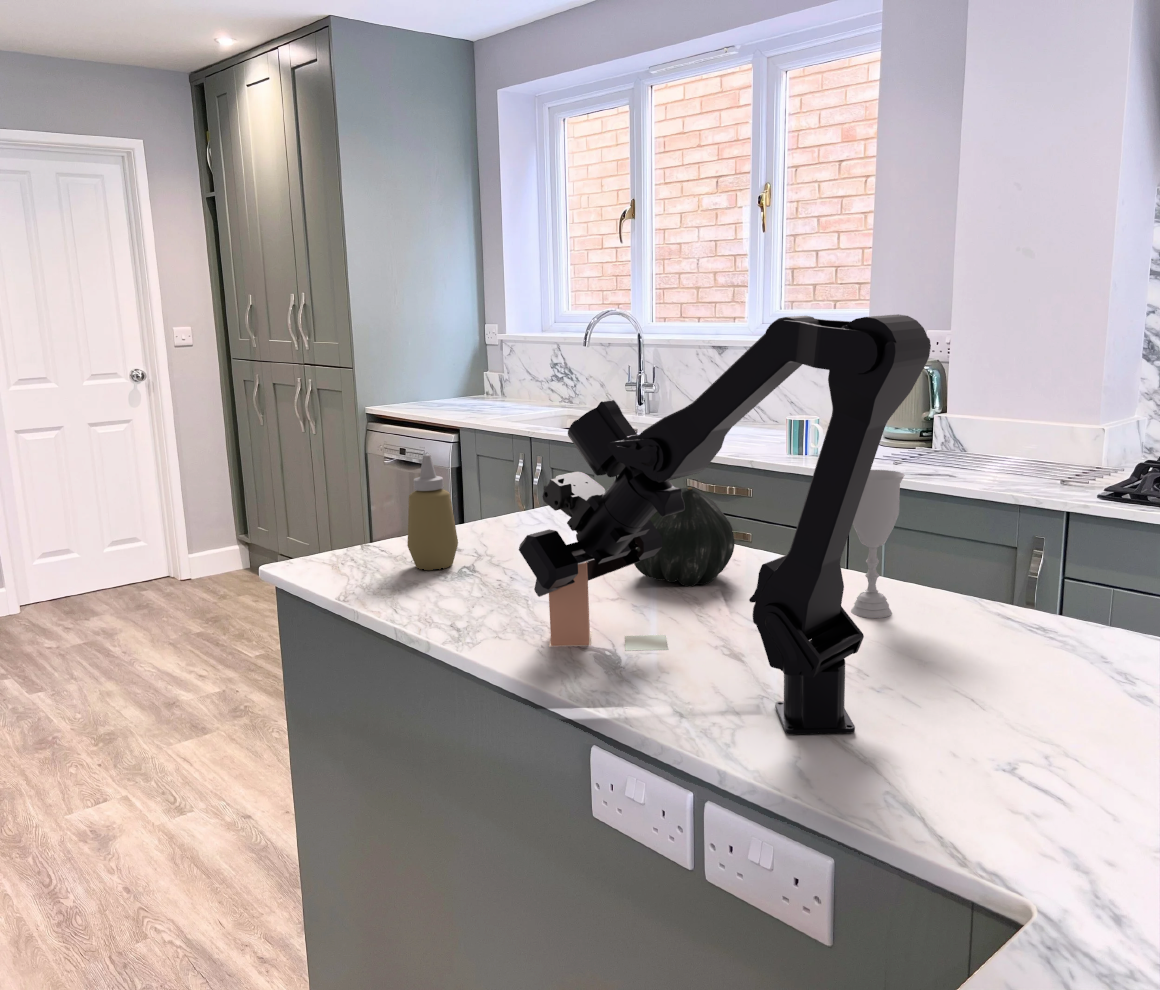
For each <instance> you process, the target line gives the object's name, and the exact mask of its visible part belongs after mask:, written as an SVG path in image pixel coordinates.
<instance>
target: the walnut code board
mask: <svg viewBox="0 0 1160 990" xmlns="http://www.w3.org/2000/svg"><path fill="white" fill-rule="evenodd" d="M592 633H593V631H592V630H590V637H589V645H552V646H551V637H550V638H549V644H548V645H549V646H548V647H550V648H552V647H584V646H585V647H587V646H589V647H590V646H592V637H593V634H592ZM667 639H668V638H667V635H666V634H646V635H643V634H642V635H641V634H640V635H624V650H625V652H631V651H632V652H633V651H635V652H636V651H638V652H639V651H669V647H668V645H669V644H668V640H667Z"/></svg>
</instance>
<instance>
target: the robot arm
mask: <svg viewBox="0 0 1160 990" xmlns="http://www.w3.org/2000/svg"><path fill="white" fill-rule="evenodd" d="M931 350H932V349H931V340H930V338H929V336H928V334H927V332H926V329H925V328H924V327H923V325H922V324H920V322H919V321H918V320H917V319H915V318H913V317H911V316H909V315H905V314H885V315H876V316H875V315H874V316H871V315H870V316H864V317H859V318H855V319H853V320H852V321H848V320H833V319H823V318H822V319H821V318H815V317H814V316H810V315H796V316H795V315H794V316H783V317H778V318H777V319H776V320H774V321H773V322H772V323H771V324H769V326H768V327H767V328H766V330H765V333H764V334H763V335H762V336H760V338H758V340H757V341H755V342H754V344H752V345H751V347H749V348H748V349H747V350H746V351H745V352H744V353H743V354H742V355H741V356H740V357H739V358H738V359H737V360H736V361H734V362H733V364H732V365H730V366H729V367H728V368H727V369H726V370H725V371H724V372H723V373H722V374H721V375H720V376H718V378H717V379H716V380H715V381H713V382H712V383H711V385H710V386H709V387H708V388H706V389H705V390H704V391H703V392H702V393H701V394H700V395H699V396H698V397H696V398H695V400H694V401H693V402H691V403H690V404H688V405H686V406H685V407H683V408H681V409H679V410H677V411H675V412H673V413H671V414H669V415H667V416H665V417H663V418H661V419H659V420H658V421H656V422H655V423H653V424H651V425H650V426H648V427H647V428H645V429H644V430H642V431H641V432H640V433H639V434H638V433H637V432H636V430H635V429H634V427H633V426H632V425H631V423H630V422H629V421H628V419H627V418H626V417H625V416H624V414H623V412H622V410H621V408H620V406H619V405H618V403H617V402H616V401H615V400H614V399H610V400H603V401H600V402H599V404H597V406H596V407H594V408H593V409H591V410H589V411H587V412H586V413H584V414H583V415H581V417H579V418H578V419H575V420H574V421H573V422H572V423H571V424H570V426H569V428H568V430H567V436H568V438H569V439H570V441H571V442H572V444H574V446H575V447H576V449H577V450H578V452H579V453H580V455H581V456H582V458H583V459H584V460H585V461H586V463H587V465H588V466H589V467H590V469H591V470H592V471H593V473H594V475H596V476H604V475H606V476H607V477H608V478H614V477H616V478H615V479H614V480H613V482H612V483H611V484H610V486H608V488H607V490H606V489H605V488H604V486H603V485H601V484H600V483H599V482H597V481H596V480H594V479H593V478H592V477H591V476H589V475H588V474H586V473H584V472H581V471H573V472H569V473H563V474H558V475H556V476H555V478H551V479H549V483H548V484H545V485H544V486H543V493H542V500H543V502H544V503H545V504H547V505H548V506H549V507H550V508H551V509H553V510H554V511H562V513H564V514H565V515H567V516H568V517H569V519H568V520H567V522H566V524H567V525H568V527H569V529H570V530H571V531H572V532H576V534H575V538H576V541H575V542H572V543H569V544H566V542H565V541H564V539H563V538H562V536H561V535H560V533H559V531H557V530H555V529H549V528H548V529H546V530H541V531H538V532H535V533H530V534H527V535H526V536H525V537H524V539H523V540H522V541H521V543H520V544H519V546H518V547H519V548H518V551H519V552H520V555H521V556H522V558H523V559H524V560H525V562H526V564H527V566H528V567H529V568H530V571H532V573H533V575H534V576H535V578H536V579H535V584H534V593H535V594H536V595H537V597H539V598H540V597H543V596H546V595H549V593H551V592H553V591H555V590H558V589H560V588H563V587H565V586H568V585H570V584H573V583H575V581H574V580H573V579H574V578H575V577H576V576H577V574H578V564H582V563H585V562H587V569H588V582H589V581H591V580H595V579H597V578H599V577H602V576H605V575H607V574H610V573H613V572H615V571H618V570H621V569H624V568H626V567H629V566H631V565H634V564H635V563H638V562H640V561H641V560H643V559H646V558H649V557H652V556H654V555H655V554H656V553H657V552H658V551H659V550H660V549H661V548H662V536H661V535H660V533H659V532H658V530H657V529H656V528H655V526H654V525H653V523H652V522H651V521H650V519H651V518H652V517H653V515H654V514H655V513H656V512H658V513H659V514H660V516H662V517H664V516H668V515H671V514H675V513H678V512H681V511H684V509H685V506H684V500H683V498H682V489H681V487H675V486H674V485H673V483H672V482H671V481H672V480H676V479H677V480H678V479H680V478H685V477H688V476H692V475H697V474H699V473H701V472H703V471H704V470H706V468H707V467H708V466H709V465H710V463H712V461H713V460H714V459H715V457H716V456H717V455H718V453H719V452H720V451H721V450H722V448H723V444H724V441H725V437H726V435H727V434H729V432H730V430H731V429H732V428H733V427H734V426H735V425H736V424H738V423H739V422H740V421H741V420H742V419H743V418H744V417H745V416H747V414H748V413H750V412H751V411H752V410H753V409H755V407H756V406H758V405H759V404H760V403H761V402H763V400H765V398H767V397H768V396H769V395H770V394H771V393H772V392H773V391H774V390H775V389H777V388H778V387H779V386H781V384H782V383H783V382H785V381H786V380H787V379H788V378H789V377H790V376H791V375H792V374H794V373H795V372H796V371H797V370H798V369H800V367H802V365H804V366H807V367H811V368H813V369H820V370H827V371H828V378H827V381H828V382H827V383H828V388H829V394H830V396H829V397H830V400H831V407H832V409H831V417H830V419H829V423H828V426H827V430H826V432H825V436H824V439H823V442H822V445H821V448H820V452H819V455H818V458H817V461H816V464H815V468H814V471H813V475H812V477H811V481H810V483H809V487H808V489H807V494H806V497H805V499H804V503H803V507H802V510H801V512H800V516H799V519H798V522H797V525H796V529H795V533H794V536H793V538H792V541H791V545H790V548H789V551H788V553H787V554H786V555H784V556H781V557H777V558H775V559H773V560H770V561H767V562H765V563H763V564H762V565H761V567H760V569H759V572H758V576H757V577H758V578H757V584H756V588H755V590H754V593H753V595H751V596H750V598H749V600H748V601H749V603H754V604H753V608H752V621H753V624H754V625H756V628H757V630H758V633H759V635H760V638H761V642H762V644H763V647H764V651H765V654H766V658H767V662H768V664H769V667H771V668H774V669H777V670H780V671H781V672H783V673H782V674H783V700H782V701H776V702H774V703H775V705H774V708H775V710H776V713H777V715H778V717H779V720H780V724H781V725H782V727H783V729H784V732H785V733H786V734H788V735H789V734H790V735H794V734H795V735H799V734H803V735H804V734H805V735H807V734H808V735H809V734H810V735H811V734H845V733H846V734H847V733H849V734H851V733H854V732H855V731H856V726H855V724H854V722H853V720H852V719H851V717H850V715H849V713H848V712H847V710H846V708H845V696H846V695H845V694H846V693H845V692H846V691H845V690H846V688H845V687H846V660H845V658H847V657H849V656H851V655H854V654H856V653H858V652H859V650H860V648H861V645H862V643H863V640H864V637H865V636H864V633H863V632H862V630H861V629H860V628H859V627H858V626H857V624H856V623H855V622H854V621H853V619H852V618H851V617H850V615H849V614H848V613H847V611H846V610H845V609H844V608H843V607H842V602H843V595H844V590H845V584H844V578H843V574H842V573H843V572H842V568H841V559H842V556H843V554H844V549H845V548H846V544H847V540H848V538H849V535H850V533H851V529H852V527H853V521H854V518H855V515H856V512H857V509H858V506H859V503H860V500H861V497H862V494H863V491H864V488H865V485H866V482H867V479H868V476H869V473H870V470H872V467H873V463H874V461H875V458H876V455H877V452H878V449H879V446H880V443H881V440H882V437H883V434H884V432H885V428H886V425H887V423H888V421H889V420H890V419H891V417H892V416H893V415H894V414H895V412H896V411H897V410H898V409H899V407H900V406H901V405H902V404H903V402H904V401H905V400H906V399H907V397H908V396H909V395H910V394H911V392H912V390H913V389H914V386H915V385H916V383H917V381H918V379H919V377H920V376H921V374H922V372H923V370H924V369H925V366H926V364H927V363H928V361H929V358H930V354H931ZM638 547H639V548H640V549H641V550H640V551H639V552H638V551H637V548H638Z"/></svg>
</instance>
